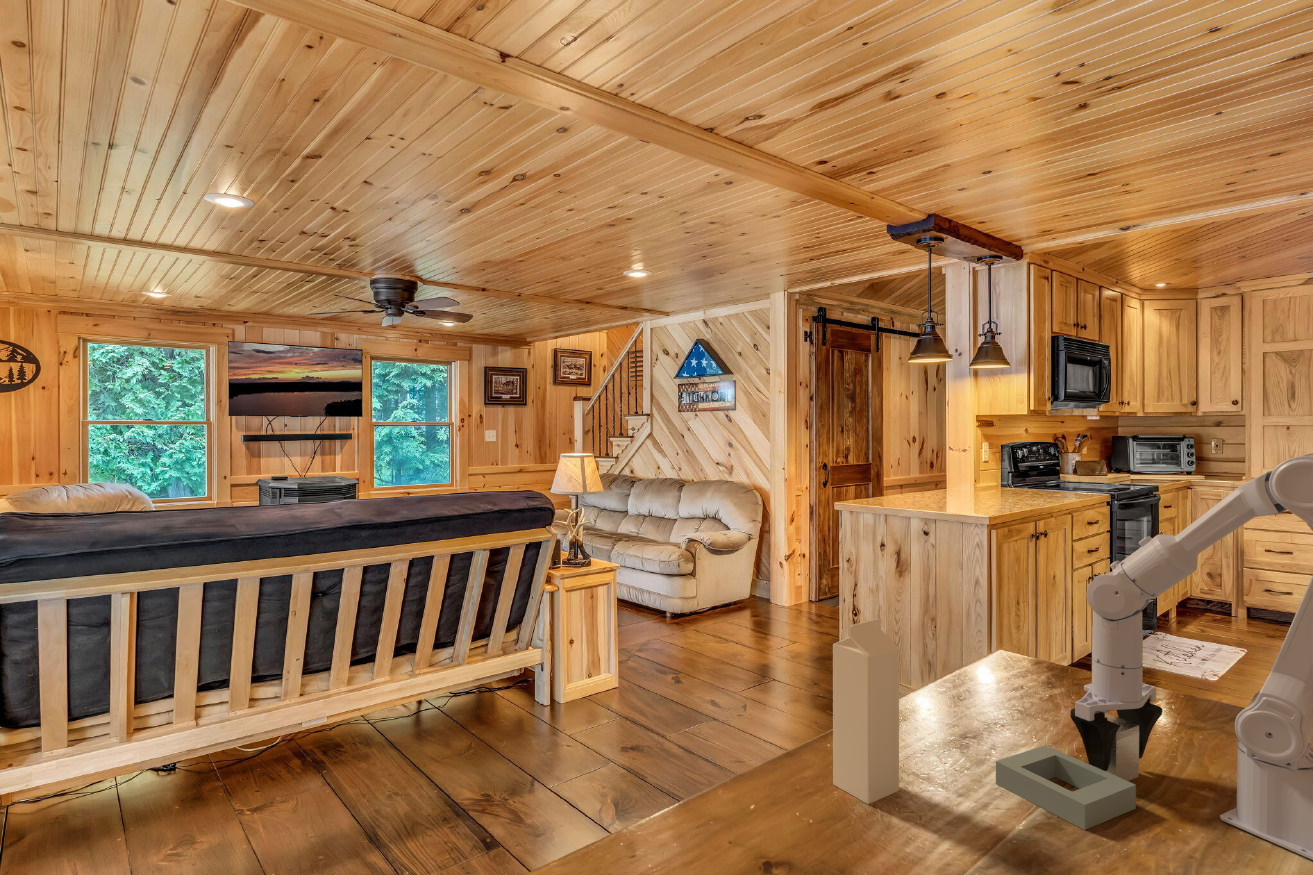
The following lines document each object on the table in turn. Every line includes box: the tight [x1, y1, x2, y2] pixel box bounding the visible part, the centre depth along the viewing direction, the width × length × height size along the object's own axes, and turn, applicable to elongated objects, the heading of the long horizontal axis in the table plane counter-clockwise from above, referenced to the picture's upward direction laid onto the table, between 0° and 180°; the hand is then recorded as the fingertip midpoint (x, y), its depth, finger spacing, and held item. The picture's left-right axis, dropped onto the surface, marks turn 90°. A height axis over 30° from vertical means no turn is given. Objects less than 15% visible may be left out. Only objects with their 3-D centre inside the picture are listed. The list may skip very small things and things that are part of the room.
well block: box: [995, 744, 1137, 831], centre depth 91 cm, size 12×10×3 cm
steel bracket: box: [1105, 712, 1140, 782], centre depth 97 cm, size 5×5×7 cm
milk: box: [832, 618, 900, 805], centre depth 93 cm, size 6×6×22 cm
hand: (1115, 761), depth 96 cm, fingers open, 7 cm apart
